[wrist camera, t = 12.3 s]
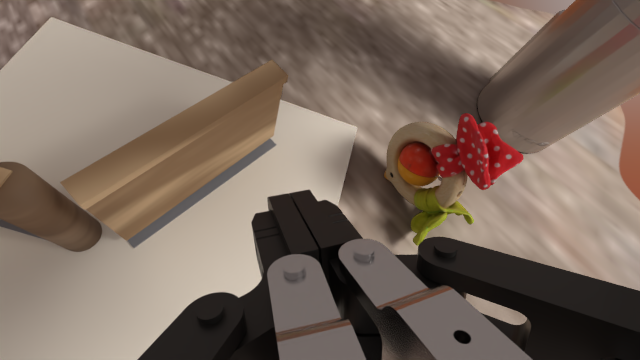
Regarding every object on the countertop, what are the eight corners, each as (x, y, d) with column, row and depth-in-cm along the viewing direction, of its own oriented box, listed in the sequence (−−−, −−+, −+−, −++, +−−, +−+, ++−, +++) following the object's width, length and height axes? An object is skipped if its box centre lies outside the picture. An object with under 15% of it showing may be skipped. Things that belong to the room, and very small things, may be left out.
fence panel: (114, 227, 22) (59, 182, 15) (263, 125, 27) (271, 59, 21) (128, 243, 22) (79, 205, 15) (275, 137, 27) (288, 75, 20)
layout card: (54, 22, 29) (50, 16, 28) (355, 130, 31) (357, 126, 31) (-214, 309, 18) (-231, 308, 17) (278, 436, 21) (279, 439, 20)
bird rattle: (357, 201, 31) (434, 272, 26) (367, 97, 23) (484, 171, 18) (403, 172, 33) (482, 231, 28) (427, 69, 25) (544, 126, 20)
